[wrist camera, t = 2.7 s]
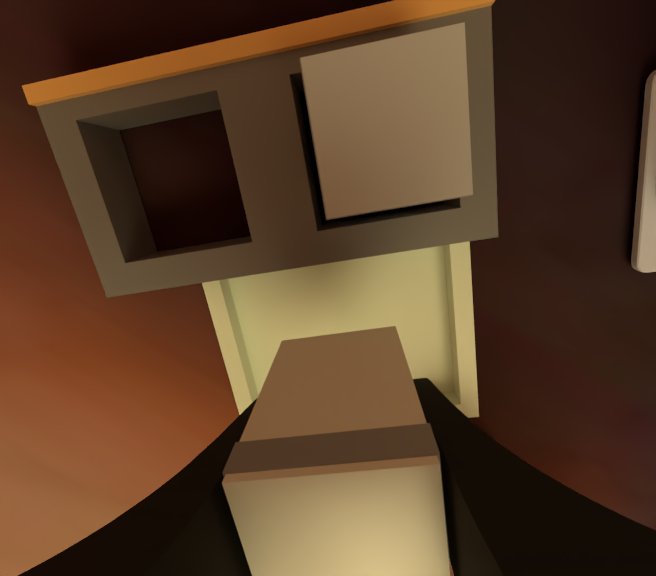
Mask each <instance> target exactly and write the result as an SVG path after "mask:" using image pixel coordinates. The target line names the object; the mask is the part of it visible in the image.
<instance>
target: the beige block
mask: <svg viewBox="0 0 656 576" xmlns="http://www.w3.org/2000/svg"><path fill="white" fill-rule="evenodd" d="M299 62H300V68H301V74H302V80H303V86H304V92H305V98H306V104H307V110H308V116H309V122H310V128H311V134H312V140H313V146H314V151H315V157H316V163H317V169H318V175H319V181H320V187H321V193H322V199H323V205H324V211H325V217H326V220H331V219H337V218H342V217H348V216H354V215H360V214H366V213H372V212H378V211H384V210H390V209H396V208H402V207H408V206H414V205H420V204H426V203H432V202H438V201H444V200H450V199H456V198H462V197H468V196H472V195H473V183H472V162H471V142H470V121H469V100H468V80H467V59H466V38H465V22H464V23H459V24H454V25H450V26H445V27H440V28H436V29H431V30H427V31H422V32H417V33H413V34H408V35H403V36H399V37H394V38H390V39H385V40H380V41H376V42H371V43H366V44H362V45H357V46H353V47H348V48H343V49H339V50H334V51H329V52H325V53H320V54H316V55H311V56H306V57H302V58H300V59H299Z"/></svg>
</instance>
